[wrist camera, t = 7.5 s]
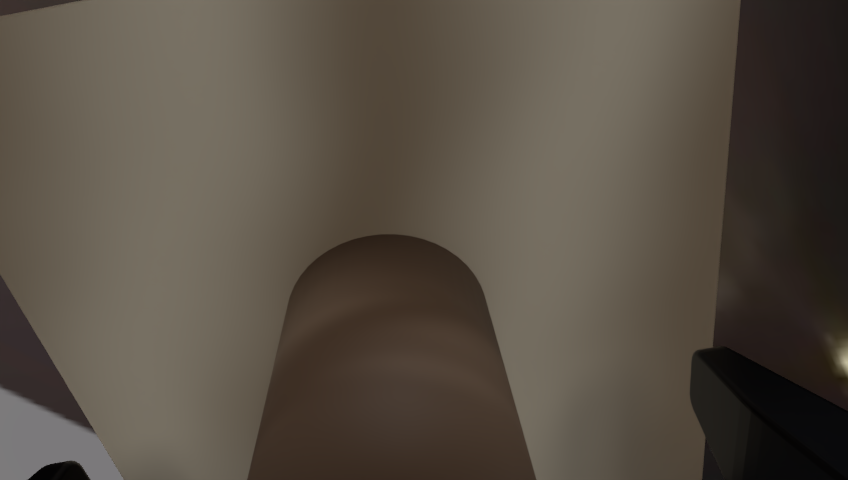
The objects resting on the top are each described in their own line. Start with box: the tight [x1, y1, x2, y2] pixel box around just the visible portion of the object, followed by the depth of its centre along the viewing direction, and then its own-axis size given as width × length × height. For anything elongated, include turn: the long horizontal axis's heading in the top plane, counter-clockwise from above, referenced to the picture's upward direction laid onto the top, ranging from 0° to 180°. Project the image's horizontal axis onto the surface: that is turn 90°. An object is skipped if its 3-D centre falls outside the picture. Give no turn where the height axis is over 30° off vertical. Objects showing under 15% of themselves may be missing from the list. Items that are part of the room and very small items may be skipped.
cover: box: [0, 0, 741, 480], centre depth 9 cm, size 12×12×5 cm
